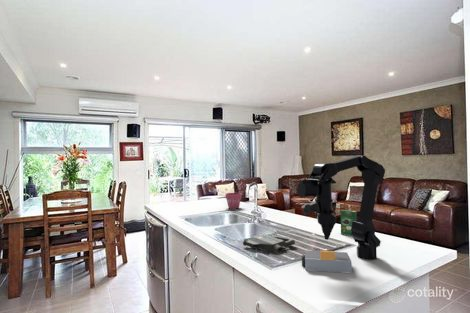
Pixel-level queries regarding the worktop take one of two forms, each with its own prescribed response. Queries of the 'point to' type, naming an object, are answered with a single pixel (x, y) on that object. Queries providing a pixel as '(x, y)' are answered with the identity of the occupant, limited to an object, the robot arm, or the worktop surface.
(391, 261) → the worktop surface
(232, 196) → the plant pot
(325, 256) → the door
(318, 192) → the robot arm
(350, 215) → the coffee box
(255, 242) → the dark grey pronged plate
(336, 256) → the cabinet housing
